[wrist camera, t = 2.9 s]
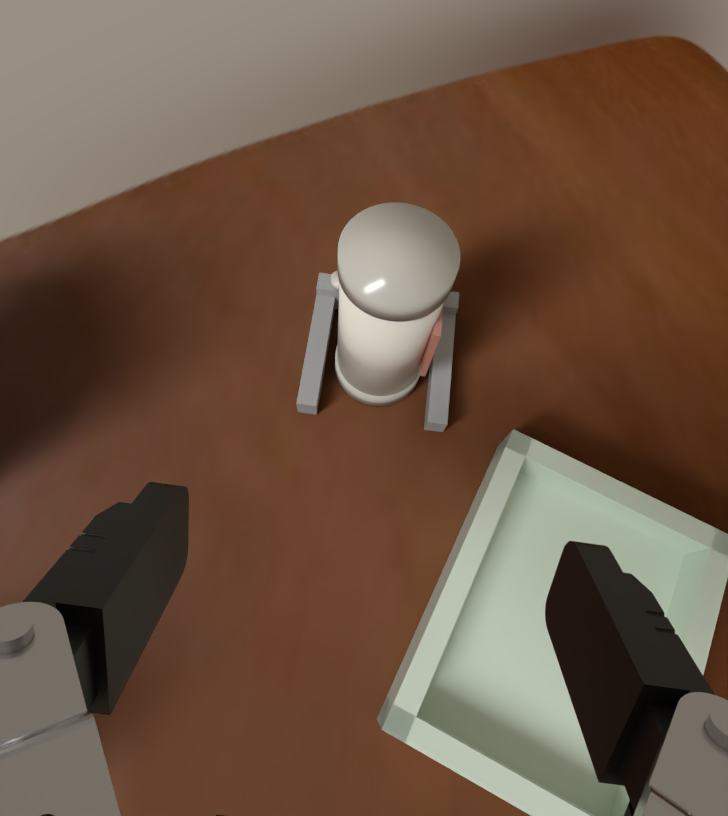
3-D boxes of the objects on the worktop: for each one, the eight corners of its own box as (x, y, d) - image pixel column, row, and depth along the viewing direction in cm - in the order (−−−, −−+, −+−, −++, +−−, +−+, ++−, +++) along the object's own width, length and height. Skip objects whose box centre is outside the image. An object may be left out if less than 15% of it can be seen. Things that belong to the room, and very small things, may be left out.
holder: (319, 291, 32) (319, 267, 30) (452, 310, 32) (461, 287, 30) (297, 411, 29) (295, 394, 27) (442, 432, 29) (451, 416, 27)
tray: (497, 445, 29) (513, 429, 27) (701, 546, 28) (737, 538, 25) (376, 719, 24) (381, 729, 22) (617, 857, 23) (651, 884, 20)
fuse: (341, 324, 31) (347, 194, 22) (423, 336, 31) (463, 211, 22) (329, 400, 29) (329, 294, 20) (415, 412, 29) (456, 313, 20)
